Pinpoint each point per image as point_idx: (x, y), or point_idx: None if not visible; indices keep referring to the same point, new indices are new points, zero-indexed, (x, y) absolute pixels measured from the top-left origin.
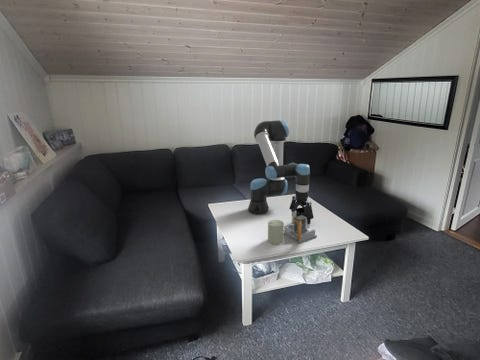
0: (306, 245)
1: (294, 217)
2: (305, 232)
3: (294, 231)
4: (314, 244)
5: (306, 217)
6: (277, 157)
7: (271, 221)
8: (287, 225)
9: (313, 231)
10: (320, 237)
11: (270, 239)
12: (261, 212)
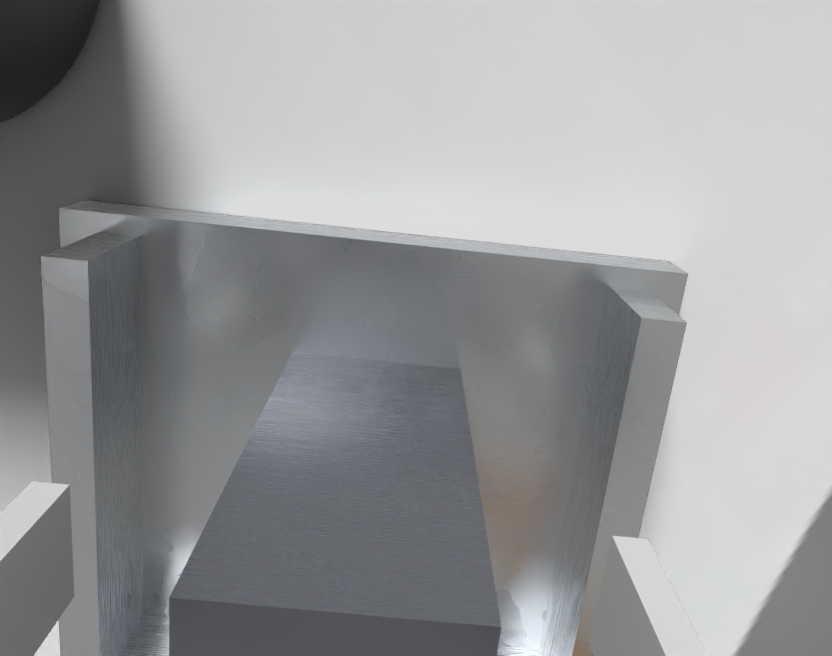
0: (709, 627)
1: (3, 634)
2: (593, 592)
3: None
4: (795, 508)
5: (465, 635)
6: None
7: None
8: (67, 639)
9: (663, 372)
10: (731, 203)
11: None
12: None
